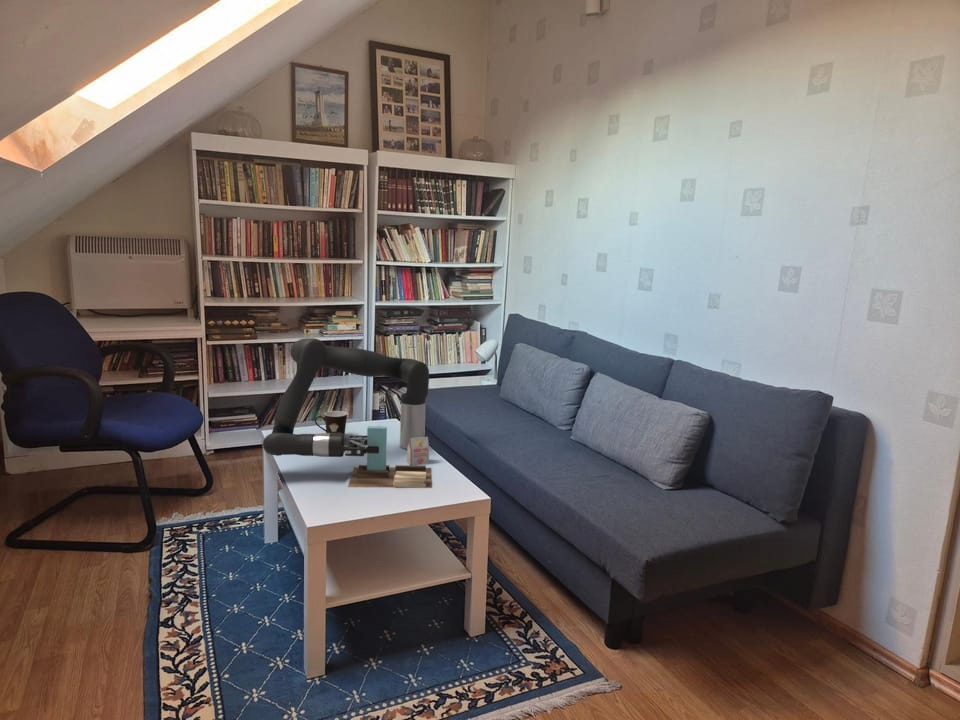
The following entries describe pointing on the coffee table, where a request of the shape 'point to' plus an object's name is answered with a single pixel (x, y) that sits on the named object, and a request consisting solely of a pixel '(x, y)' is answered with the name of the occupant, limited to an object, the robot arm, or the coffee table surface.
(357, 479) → the walnut rack
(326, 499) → the coffee table surface
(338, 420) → the coffee mug
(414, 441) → the tea bag
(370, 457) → the teal panel
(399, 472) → the pine offcuts
